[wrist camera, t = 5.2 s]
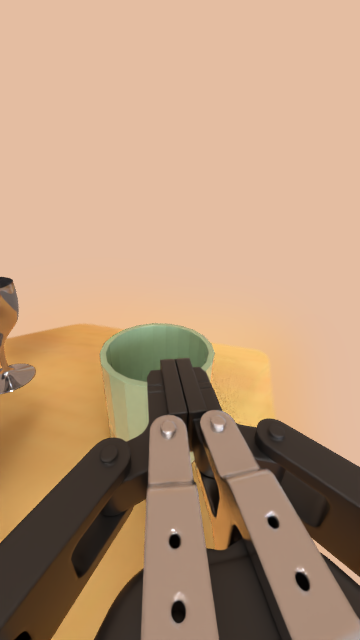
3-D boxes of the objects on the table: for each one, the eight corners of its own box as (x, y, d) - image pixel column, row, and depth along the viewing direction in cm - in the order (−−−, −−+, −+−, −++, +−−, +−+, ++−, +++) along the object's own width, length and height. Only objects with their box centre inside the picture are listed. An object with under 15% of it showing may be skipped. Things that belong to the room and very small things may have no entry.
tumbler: (143, 504, 21) (137, 409, 16) (96, 423, 29) (82, 341, 24) (223, 437, 28) (237, 355, 23) (167, 386, 36) (169, 315, 30)
